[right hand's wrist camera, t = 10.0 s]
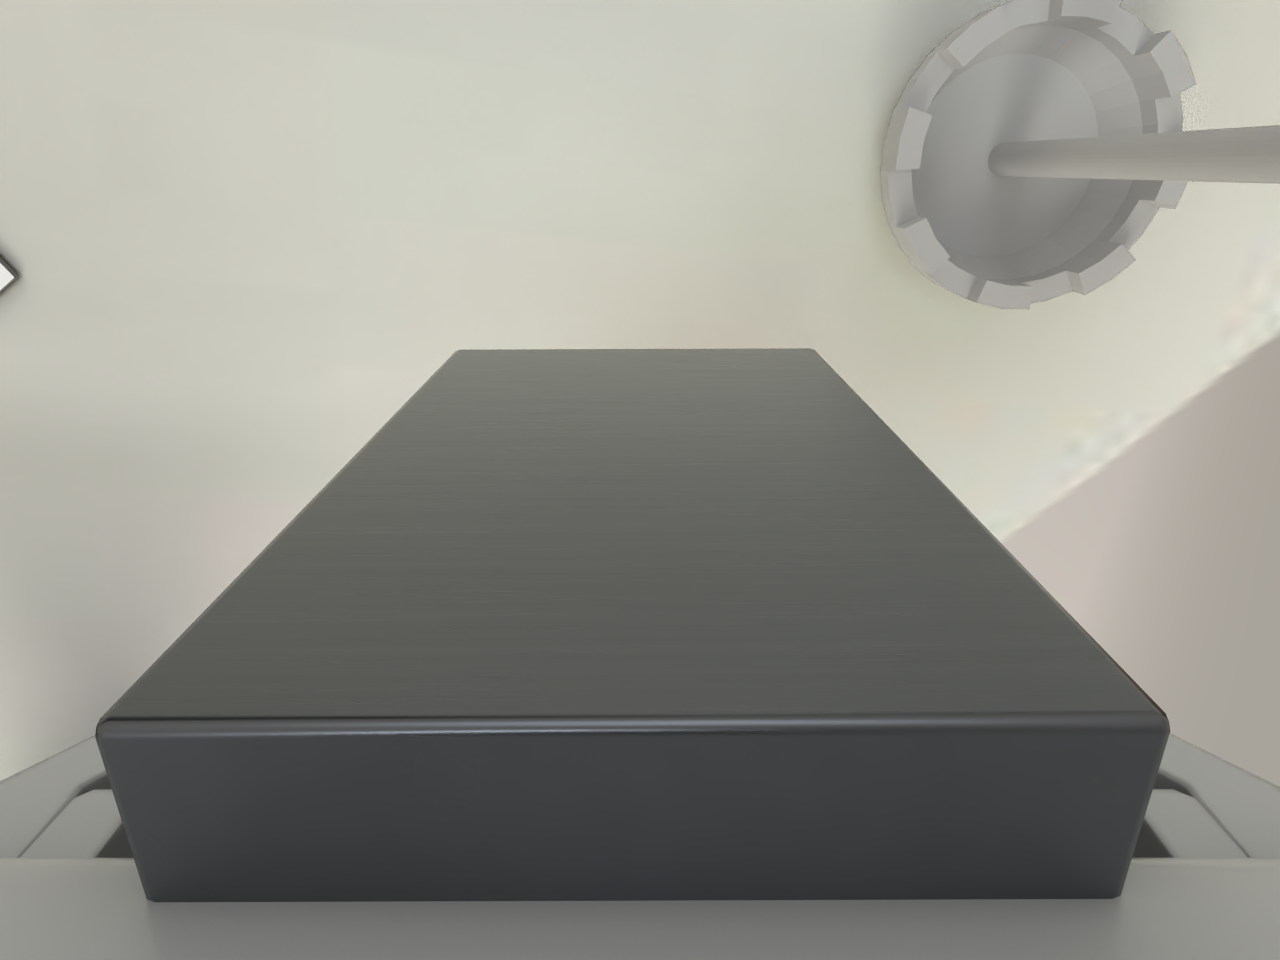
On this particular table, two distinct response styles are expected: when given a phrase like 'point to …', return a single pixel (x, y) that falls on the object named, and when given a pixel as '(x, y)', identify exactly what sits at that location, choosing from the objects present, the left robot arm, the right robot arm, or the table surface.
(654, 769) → the box
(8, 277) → the tablet
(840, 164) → the table surface
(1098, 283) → the flag stand
